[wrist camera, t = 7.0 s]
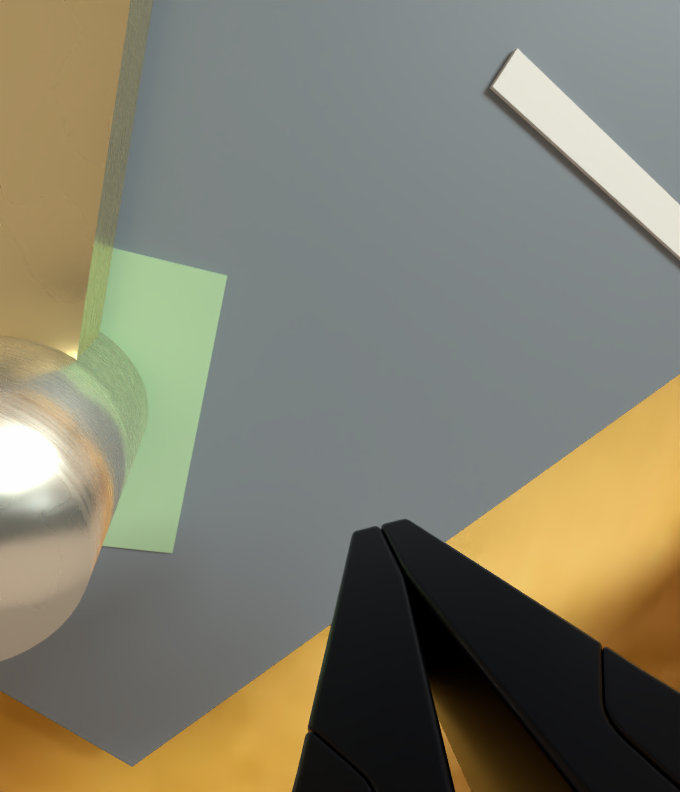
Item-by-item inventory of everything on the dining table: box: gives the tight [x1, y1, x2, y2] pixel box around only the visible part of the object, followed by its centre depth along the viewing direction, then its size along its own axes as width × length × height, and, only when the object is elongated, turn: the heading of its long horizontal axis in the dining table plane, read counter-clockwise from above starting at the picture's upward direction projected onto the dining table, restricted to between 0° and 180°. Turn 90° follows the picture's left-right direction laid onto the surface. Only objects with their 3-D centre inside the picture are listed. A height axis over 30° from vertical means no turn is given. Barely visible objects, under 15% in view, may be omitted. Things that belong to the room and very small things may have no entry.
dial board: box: [0, 0, 680, 766], centre depth 11 cm, size 20×26×1 cm
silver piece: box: [0, 0, 153, 661], centre depth 7 cm, size 14×4×5 cm, turn 163°
